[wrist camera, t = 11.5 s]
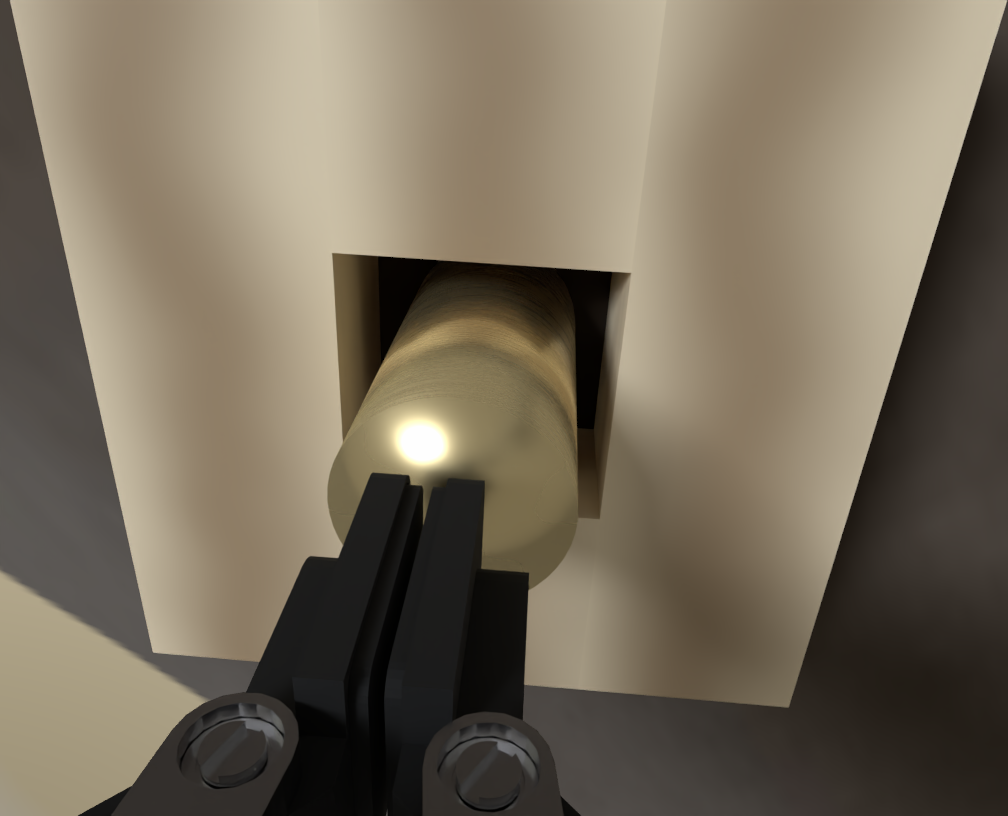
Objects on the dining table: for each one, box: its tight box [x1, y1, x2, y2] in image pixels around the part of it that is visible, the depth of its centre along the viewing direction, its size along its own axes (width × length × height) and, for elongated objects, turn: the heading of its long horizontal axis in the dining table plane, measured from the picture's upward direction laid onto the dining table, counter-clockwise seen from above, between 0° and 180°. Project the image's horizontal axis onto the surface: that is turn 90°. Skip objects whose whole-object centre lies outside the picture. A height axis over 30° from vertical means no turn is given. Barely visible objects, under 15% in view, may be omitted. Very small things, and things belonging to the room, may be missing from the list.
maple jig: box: [10, 0, 1007, 707], centre depth 18 cm, size 16×16×4 cm
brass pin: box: [327, 260, 578, 590], centre depth 16 cm, size 4×4×8 cm
